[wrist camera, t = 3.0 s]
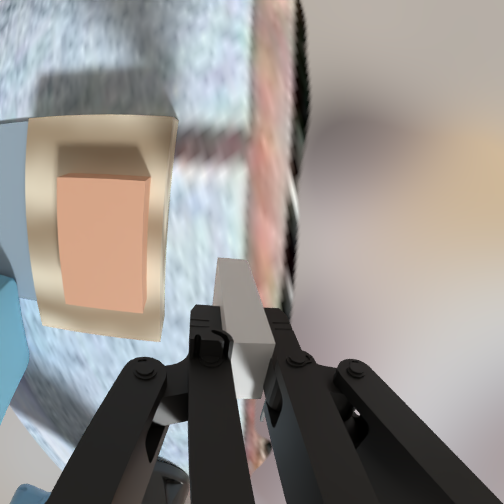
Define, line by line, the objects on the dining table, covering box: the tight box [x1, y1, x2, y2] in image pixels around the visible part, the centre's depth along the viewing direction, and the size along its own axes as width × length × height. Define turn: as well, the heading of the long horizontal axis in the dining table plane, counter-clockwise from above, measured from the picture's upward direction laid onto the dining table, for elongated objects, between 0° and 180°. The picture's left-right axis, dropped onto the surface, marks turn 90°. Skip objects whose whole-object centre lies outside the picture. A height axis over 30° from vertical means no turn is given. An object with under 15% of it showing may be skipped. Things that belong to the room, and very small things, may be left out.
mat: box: [0, 121, 37, 301], centre depth 20 cm, size 17×9×1 cm, turn 171°
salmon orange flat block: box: [57, 173, 151, 314], centre depth 18 cm, size 9×6×2 cm, turn 171°
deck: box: [25, 114, 179, 342], centre depth 21 cm, size 17×11×4 cm, turn 171°
